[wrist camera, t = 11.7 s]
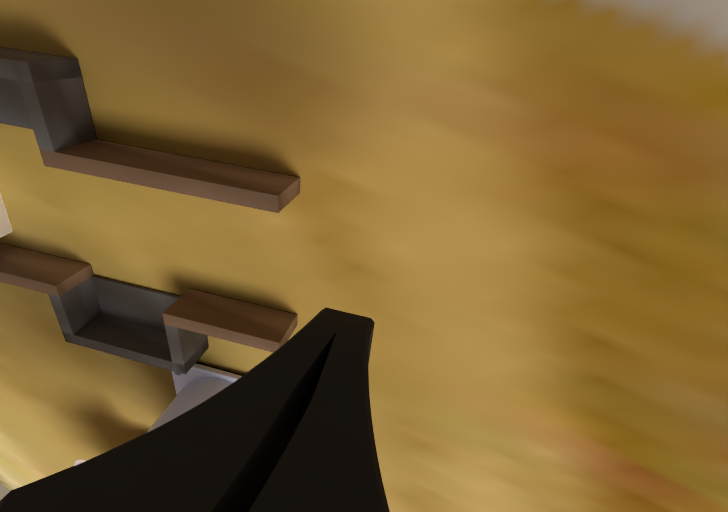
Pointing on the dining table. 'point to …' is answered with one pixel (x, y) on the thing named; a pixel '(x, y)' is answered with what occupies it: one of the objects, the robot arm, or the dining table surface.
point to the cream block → (4, 220)
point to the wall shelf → (142, 167)
